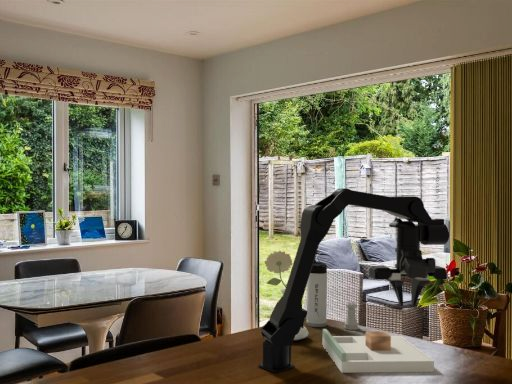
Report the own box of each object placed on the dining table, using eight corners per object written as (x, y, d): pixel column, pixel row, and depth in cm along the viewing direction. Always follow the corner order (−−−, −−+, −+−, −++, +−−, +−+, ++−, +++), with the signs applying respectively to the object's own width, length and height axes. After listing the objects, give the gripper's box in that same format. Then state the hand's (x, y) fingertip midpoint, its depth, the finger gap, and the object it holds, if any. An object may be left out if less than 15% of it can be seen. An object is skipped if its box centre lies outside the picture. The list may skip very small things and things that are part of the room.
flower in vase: (311, 335, 162) (312, 249, 162) (305, 345, 150) (307, 253, 151) (267, 331, 165) (268, 248, 165) (259, 341, 153) (260, 252, 154)
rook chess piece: (348, 326, 173) (348, 300, 173) (361, 328, 171) (361, 302, 171) (341, 328, 170) (341, 302, 170) (353, 331, 167) (354, 304, 167)
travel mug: (314, 321, 179) (315, 260, 179) (330, 325, 174) (331, 262, 174) (301, 324, 174) (302, 261, 174) (317, 328, 170) (318, 263, 170)
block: (370, 350, 137) (371, 336, 137) (365, 345, 142) (365, 331, 142) (390, 350, 138) (390, 336, 138) (384, 344, 143) (384, 331, 143)
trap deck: (341, 372, 128) (341, 353, 128) (322, 345, 151) (322, 328, 151) (433, 371, 129) (434, 352, 129) (400, 344, 152) (401, 328, 152)
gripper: (381, 248, 132) (381, 313, 132) (457, 248, 133) (456, 313, 133) (368, 243, 143) (368, 304, 143) (438, 244, 144) (438, 303, 144)
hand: (407, 306), depth 141 cm, fingers open, 3 cm apart
